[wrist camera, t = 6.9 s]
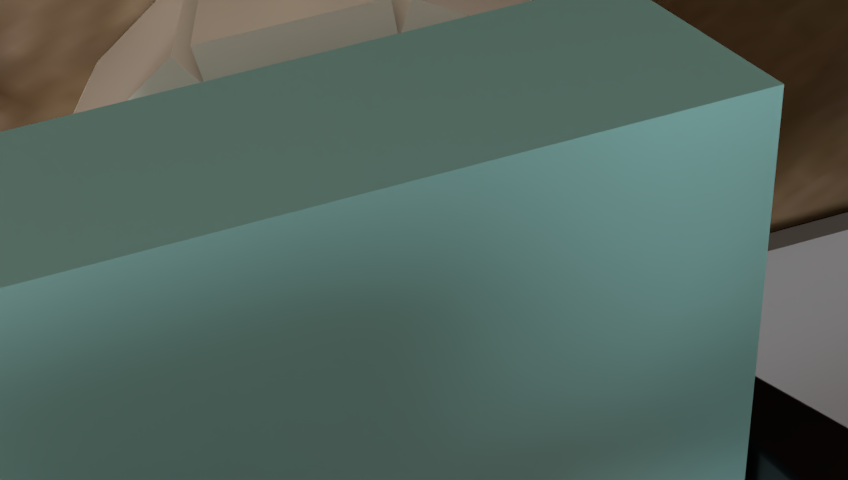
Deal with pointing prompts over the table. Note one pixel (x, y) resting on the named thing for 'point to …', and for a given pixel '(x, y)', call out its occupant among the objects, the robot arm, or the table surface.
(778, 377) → the mat
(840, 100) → the table surface
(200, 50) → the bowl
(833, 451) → the robot arm
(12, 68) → the table surface
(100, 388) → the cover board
